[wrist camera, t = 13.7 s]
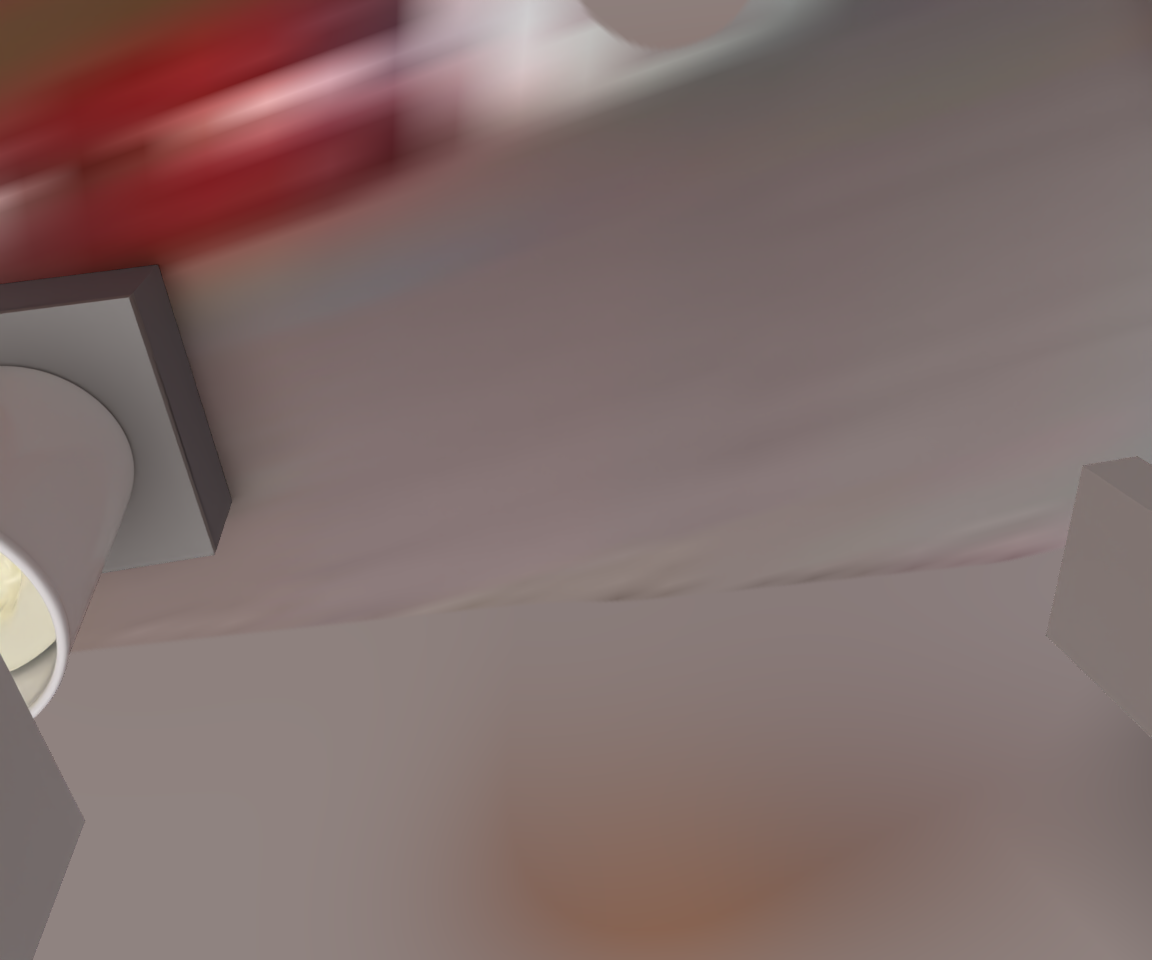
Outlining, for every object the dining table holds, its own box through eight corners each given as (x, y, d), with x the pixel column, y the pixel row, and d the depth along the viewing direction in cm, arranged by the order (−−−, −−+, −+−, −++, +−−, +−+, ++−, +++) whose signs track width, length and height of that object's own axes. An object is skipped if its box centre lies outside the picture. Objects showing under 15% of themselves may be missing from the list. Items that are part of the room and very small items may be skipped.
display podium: (157, 264, 39) (128, 297, 35) (231, 501, 45) (214, 554, 40) (-138, 301, 38) (-207, 340, 33) (-22, 540, 43) (-68, 600, 39)
